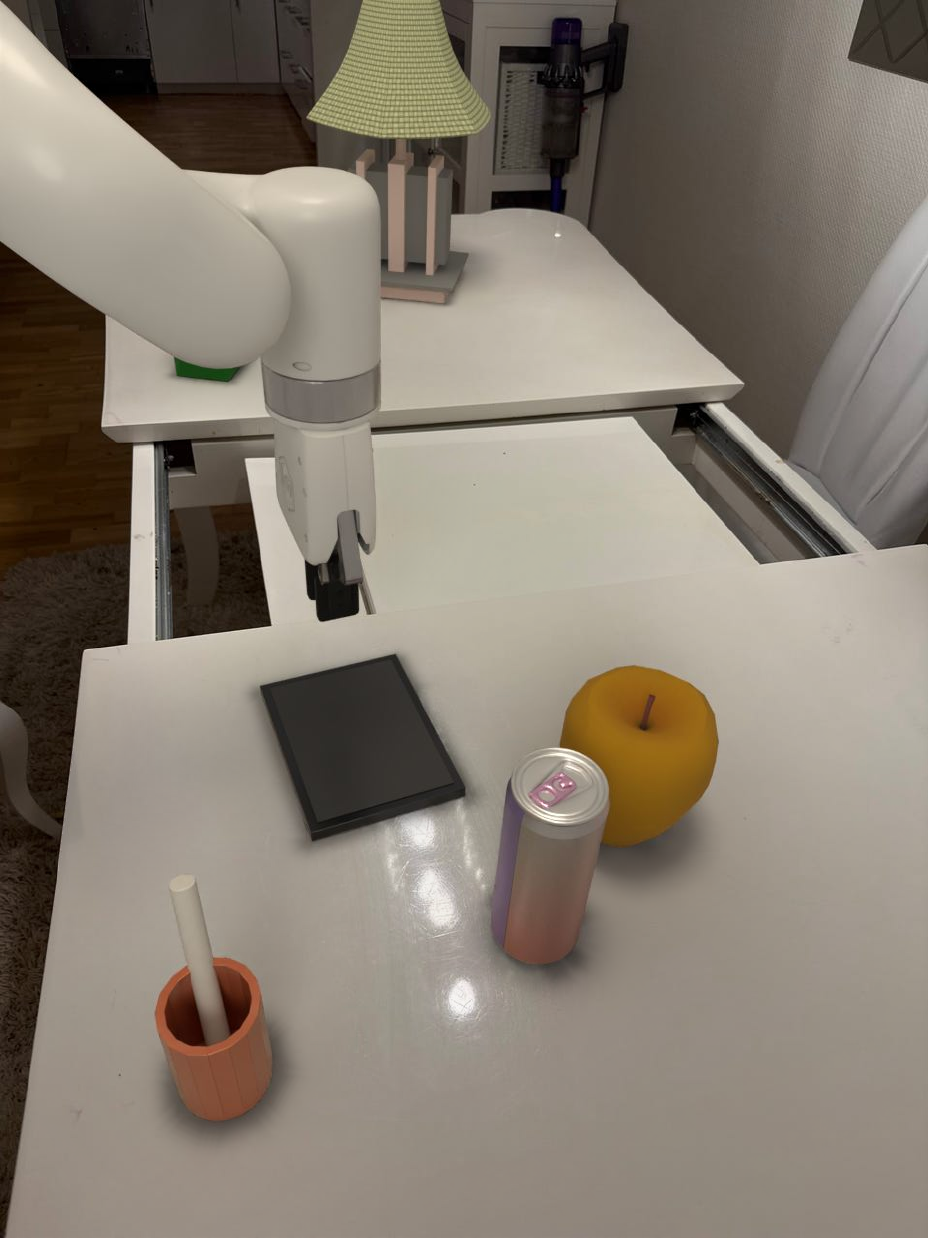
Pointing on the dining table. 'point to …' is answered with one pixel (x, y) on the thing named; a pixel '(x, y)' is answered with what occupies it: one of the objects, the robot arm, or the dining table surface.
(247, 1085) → the pen cup
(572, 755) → the beverage can
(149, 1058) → the dining table surface
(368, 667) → the tablet
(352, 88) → the desk lamp
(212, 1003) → the stylus
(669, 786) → the apple
